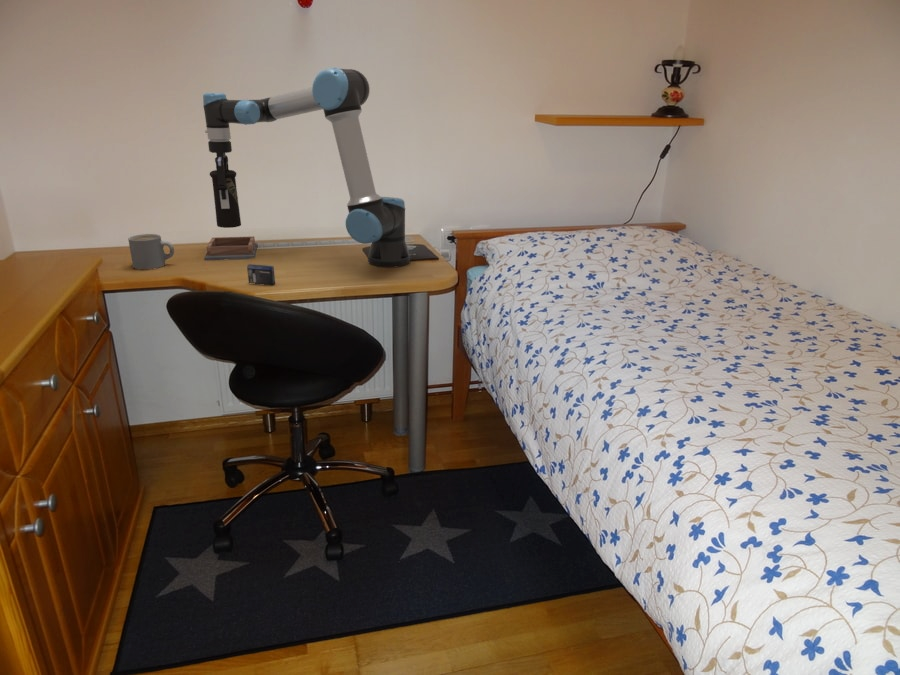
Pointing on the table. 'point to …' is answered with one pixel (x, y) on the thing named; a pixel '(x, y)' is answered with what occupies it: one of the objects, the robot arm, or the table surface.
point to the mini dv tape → (261, 274)
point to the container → (231, 215)
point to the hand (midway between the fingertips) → (226, 206)
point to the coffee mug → (148, 251)
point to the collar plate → (231, 248)
